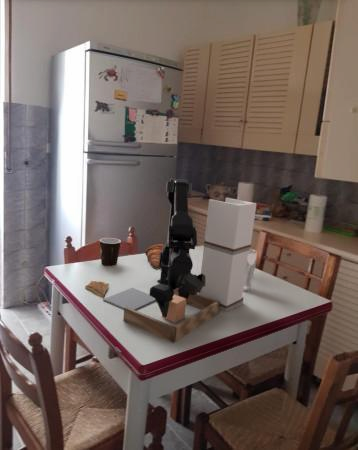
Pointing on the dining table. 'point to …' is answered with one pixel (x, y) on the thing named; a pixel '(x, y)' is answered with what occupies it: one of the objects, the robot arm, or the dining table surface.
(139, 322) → the walnut u-shaped frame
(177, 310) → the terracotta block
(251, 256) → the beer glass
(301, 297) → the dining table surface
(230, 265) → the banded white pillar
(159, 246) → the pastry
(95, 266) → the dining table surface
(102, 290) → the shard
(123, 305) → the slate mat
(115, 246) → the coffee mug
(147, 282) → the dining table surface
